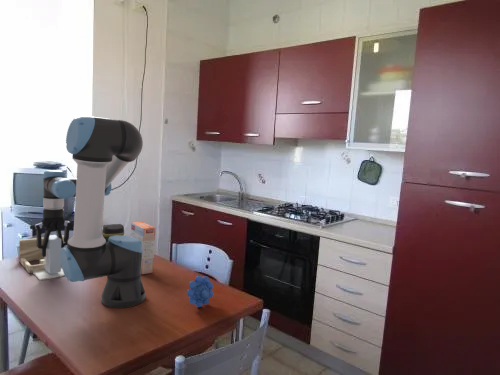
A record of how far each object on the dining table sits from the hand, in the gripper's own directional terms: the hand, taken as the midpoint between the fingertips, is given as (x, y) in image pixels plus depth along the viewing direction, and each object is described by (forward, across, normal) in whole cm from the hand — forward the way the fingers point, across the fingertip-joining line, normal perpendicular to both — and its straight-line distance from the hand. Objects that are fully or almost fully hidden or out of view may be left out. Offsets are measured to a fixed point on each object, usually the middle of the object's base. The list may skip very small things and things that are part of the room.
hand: (52, 262), depth 149 cm
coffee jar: (+5, -26, -1) cm, 27 cm away
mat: (+5, 0, 0) cm, 5 cm away
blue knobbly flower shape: (+5, -32, +61) cm, 69 cm away
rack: (+5, -2, -14) cm, 15 cm away
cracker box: (+5, -33, +14) cm, 36 cm away
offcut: (+4, -2, -10) cm, 11 cm away
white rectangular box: (+3, 0, 0) cm, 3 cm away
